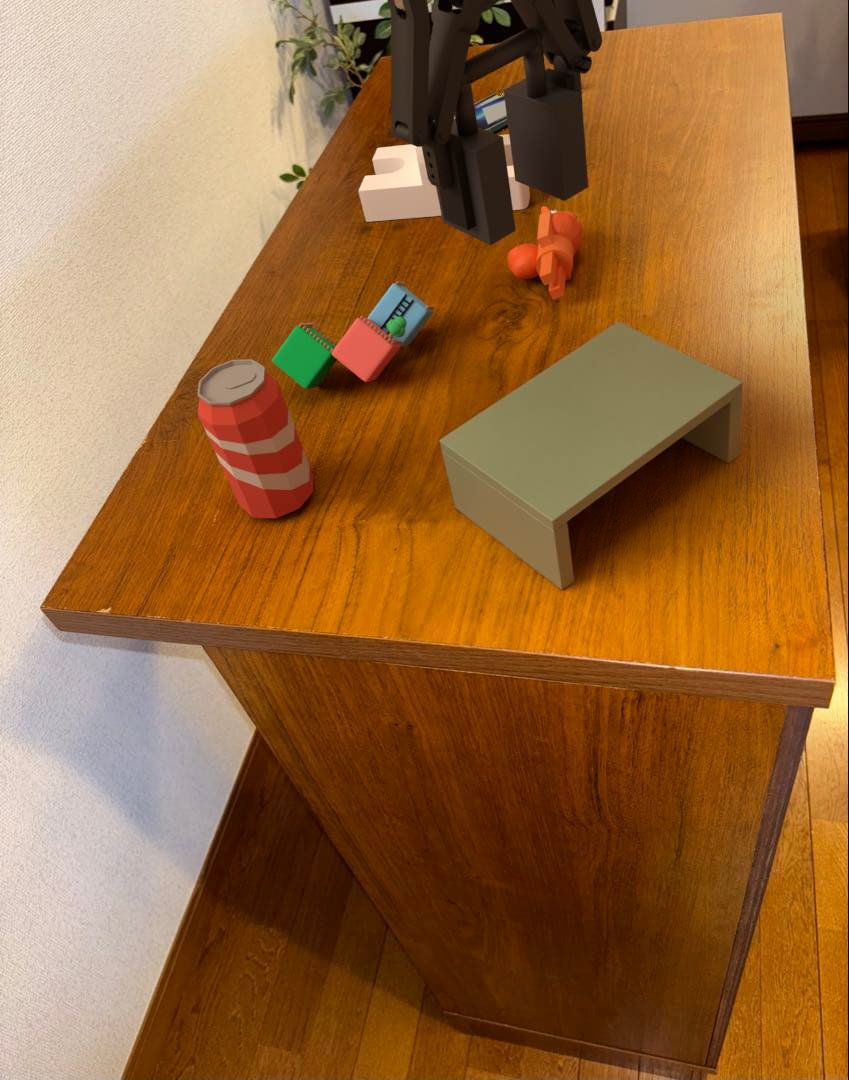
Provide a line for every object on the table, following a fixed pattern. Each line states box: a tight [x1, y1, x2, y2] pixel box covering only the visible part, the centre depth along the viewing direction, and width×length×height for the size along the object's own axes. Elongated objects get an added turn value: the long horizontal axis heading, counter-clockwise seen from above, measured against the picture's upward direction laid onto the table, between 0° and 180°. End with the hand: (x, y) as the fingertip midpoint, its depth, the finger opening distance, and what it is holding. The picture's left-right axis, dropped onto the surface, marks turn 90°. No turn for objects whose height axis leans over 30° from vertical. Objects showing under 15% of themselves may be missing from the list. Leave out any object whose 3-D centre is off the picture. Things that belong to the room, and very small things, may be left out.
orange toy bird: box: [506, 205, 584, 301], centre depth 93 cm, size 5×8×12 cm
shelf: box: [439, 320, 743, 591], centre depth 72 cm, size 12×18×7 cm, turn 128°
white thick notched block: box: [358, 115, 531, 223], centre depth 105 cm, size 18×10×11 cm, turn 79°
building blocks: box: [271, 280, 436, 390], centre depth 88 cm, size 8×8×12 cm
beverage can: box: [197, 358, 314, 519], centre depth 76 cm, size 6×6×12 cm
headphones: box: [436, 28, 589, 246], centre depth 69 cm, size 6×10×11 cm, turn 128°
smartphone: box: [474, 92, 508, 133], centre depth 121 cm, size 7×1×15 cm
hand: (513, 191), depth 72 cm, fingers closed on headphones, 10 cm apart
